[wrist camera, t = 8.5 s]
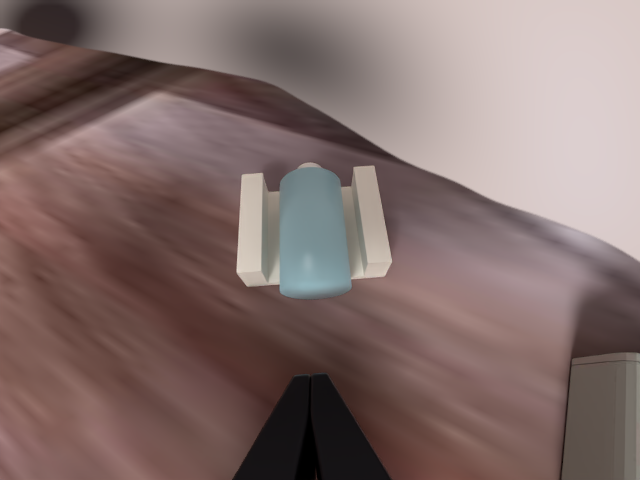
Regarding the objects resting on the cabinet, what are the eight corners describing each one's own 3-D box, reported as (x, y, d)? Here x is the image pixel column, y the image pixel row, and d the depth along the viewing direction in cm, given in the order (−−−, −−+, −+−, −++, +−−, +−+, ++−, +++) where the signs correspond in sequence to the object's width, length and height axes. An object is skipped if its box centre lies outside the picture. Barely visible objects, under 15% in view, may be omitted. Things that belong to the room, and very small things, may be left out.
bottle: (357, 276, 18) (342, 150, 22) (277, 278, 17) (278, 150, 22) (345, 298, 22) (335, 188, 26) (280, 300, 21) (280, 188, 26)
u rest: (384, 276, 23) (392, 261, 20) (247, 286, 23) (236, 272, 20) (369, 188, 26) (374, 165, 24) (250, 196, 26) (241, 174, 24)
